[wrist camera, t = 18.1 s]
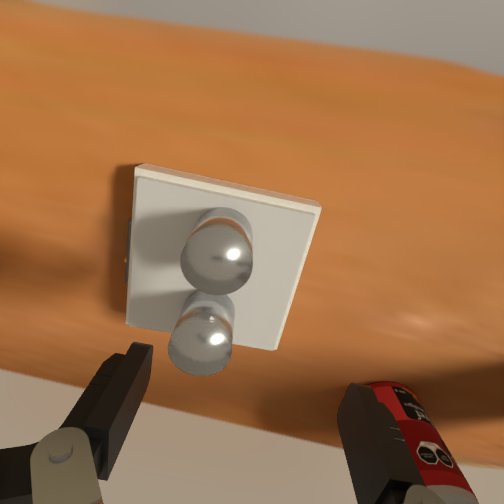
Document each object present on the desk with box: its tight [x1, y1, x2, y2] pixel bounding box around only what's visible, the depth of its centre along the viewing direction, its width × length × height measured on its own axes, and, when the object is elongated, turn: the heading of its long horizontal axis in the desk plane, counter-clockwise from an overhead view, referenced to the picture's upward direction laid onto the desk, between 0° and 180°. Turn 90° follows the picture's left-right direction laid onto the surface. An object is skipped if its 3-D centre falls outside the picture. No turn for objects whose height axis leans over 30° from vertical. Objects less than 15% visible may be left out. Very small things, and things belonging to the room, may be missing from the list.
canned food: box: [367, 382, 479, 504], centre depth 29 cm, size 8×8×11 cm
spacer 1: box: [180, 207, 253, 295], centre depth 21 cm, size 4×4×5 cm
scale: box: [124, 163, 322, 351], centre depth 26 cm, size 15×14×3 cm
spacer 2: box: [168, 290, 235, 376], centre depth 23 cm, size 4×4×5 cm
